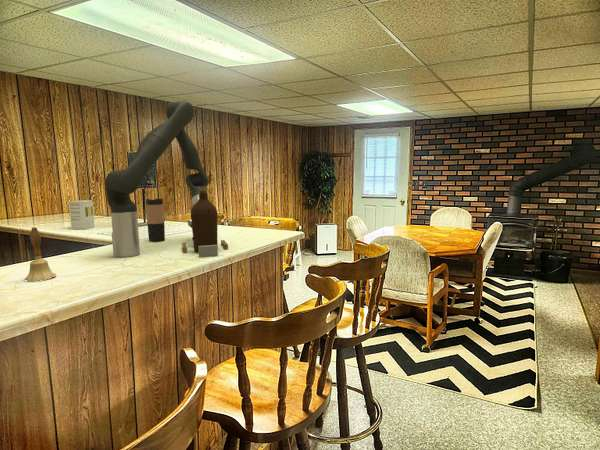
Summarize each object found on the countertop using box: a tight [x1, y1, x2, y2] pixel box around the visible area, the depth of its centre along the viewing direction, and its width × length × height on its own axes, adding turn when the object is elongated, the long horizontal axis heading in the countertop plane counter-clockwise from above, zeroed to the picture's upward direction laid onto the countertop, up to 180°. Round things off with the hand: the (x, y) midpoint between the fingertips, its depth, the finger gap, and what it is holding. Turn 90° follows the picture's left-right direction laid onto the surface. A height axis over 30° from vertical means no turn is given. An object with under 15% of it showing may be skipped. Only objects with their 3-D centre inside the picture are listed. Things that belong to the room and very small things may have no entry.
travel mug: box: [145, 198, 166, 243], centre depth 179 cm, size 8×8×20 cm
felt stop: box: [198, 245, 219, 258], centre depth 144 cm, size 7×2×4 cm, turn 109°
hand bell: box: [24, 226, 57, 282], centre depth 116 cm, size 8×8×16 cm
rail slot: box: [181, 239, 229, 254], centre depth 159 cm, size 18×12×2 cm, turn 109°
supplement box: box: [68, 199, 96, 231], centre depth 226 cm, size 10×9×17 cm
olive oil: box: [190, 189, 219, 254], centre depth 153 cm, size 11×11×25 cm
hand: (204, 238), depth 160 cm, fingers closed
